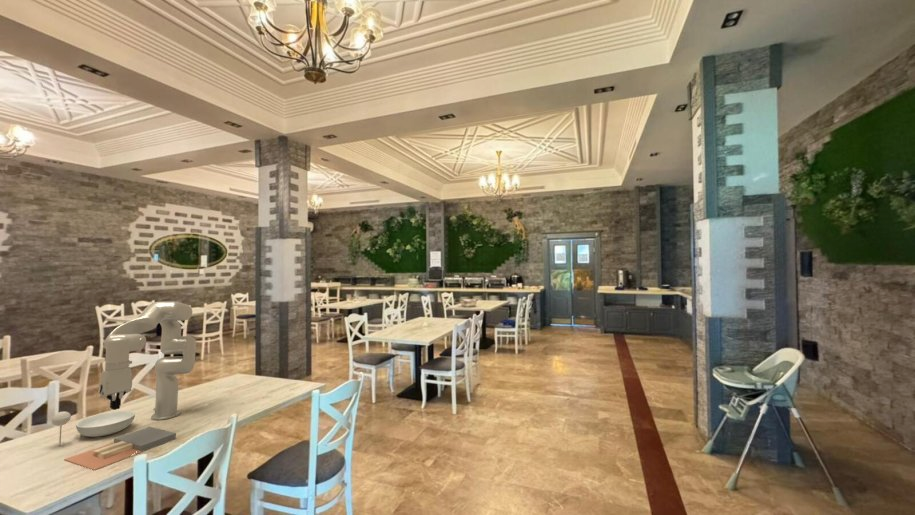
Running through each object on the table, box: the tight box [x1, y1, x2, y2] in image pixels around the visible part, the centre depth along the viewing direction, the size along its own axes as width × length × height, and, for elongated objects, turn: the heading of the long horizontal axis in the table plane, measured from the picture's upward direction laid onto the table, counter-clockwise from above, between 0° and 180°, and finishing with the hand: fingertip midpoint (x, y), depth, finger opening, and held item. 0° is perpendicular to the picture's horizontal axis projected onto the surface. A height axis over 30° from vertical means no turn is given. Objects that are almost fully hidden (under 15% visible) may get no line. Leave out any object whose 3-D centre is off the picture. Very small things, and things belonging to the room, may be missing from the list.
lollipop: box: [51, 411, 72, 447], centre depth 163 cm, size 6×6×15 cm
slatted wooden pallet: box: [93, 441, 133, 459], centre depth 157 cm, size 8×10×2 cm
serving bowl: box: [75, 410, 136, 437], centre depth 178 cm, size 21×21×7 cm
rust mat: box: [63, 442, 143, 471], centre depth 154 cm, size 22×16×1 cm
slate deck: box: [113, 426, 177, 452], centre depth 168 cm, size 20×14×2 cm
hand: (115, 408), depth 158 cm, fingers closed
